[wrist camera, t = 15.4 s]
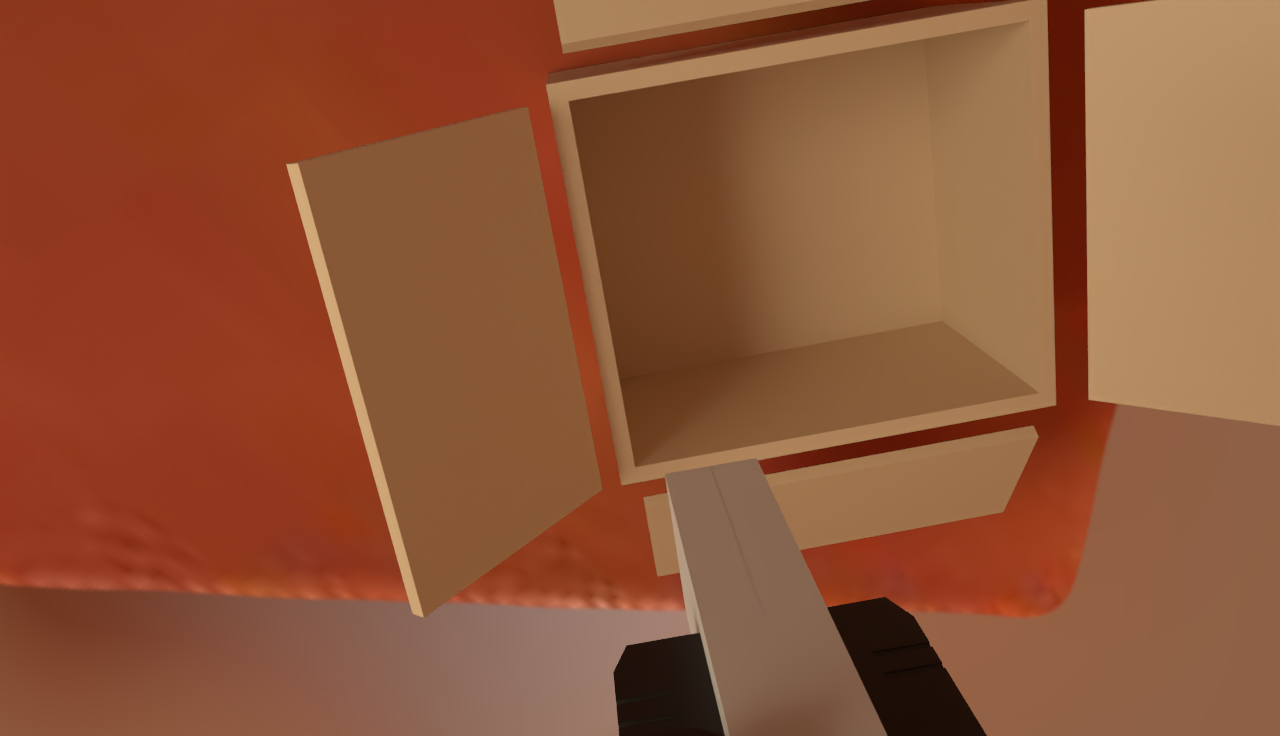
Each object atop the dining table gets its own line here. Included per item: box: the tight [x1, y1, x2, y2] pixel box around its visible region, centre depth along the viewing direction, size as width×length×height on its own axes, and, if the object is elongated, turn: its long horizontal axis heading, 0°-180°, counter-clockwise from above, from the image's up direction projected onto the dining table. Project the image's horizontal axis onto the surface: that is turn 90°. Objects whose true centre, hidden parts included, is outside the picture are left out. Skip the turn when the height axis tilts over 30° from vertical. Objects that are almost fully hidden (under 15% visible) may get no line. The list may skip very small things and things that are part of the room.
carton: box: [546, 0, 1056, 485], centre depth 38 cm, size 16×14×10 cm
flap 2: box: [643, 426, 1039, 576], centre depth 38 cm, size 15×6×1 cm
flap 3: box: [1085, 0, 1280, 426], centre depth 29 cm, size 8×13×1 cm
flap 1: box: [286, 107, 602, 617], centre depth 29 cm, size 8×13×1 cm
